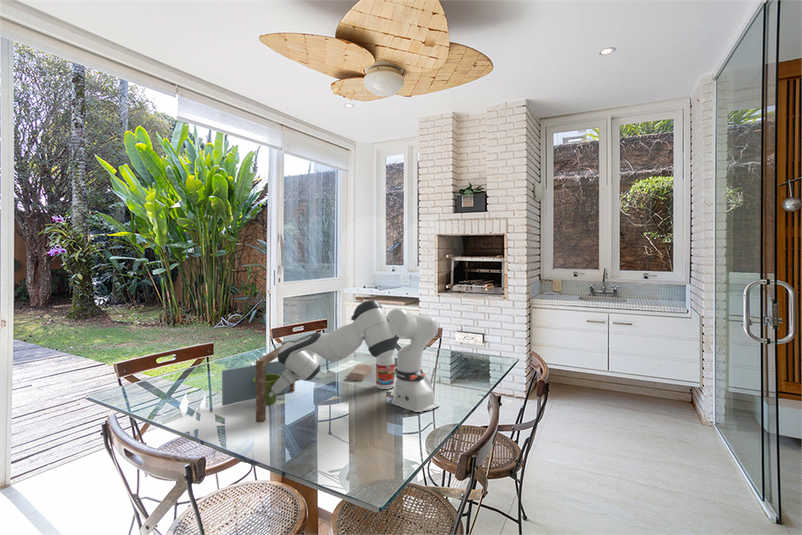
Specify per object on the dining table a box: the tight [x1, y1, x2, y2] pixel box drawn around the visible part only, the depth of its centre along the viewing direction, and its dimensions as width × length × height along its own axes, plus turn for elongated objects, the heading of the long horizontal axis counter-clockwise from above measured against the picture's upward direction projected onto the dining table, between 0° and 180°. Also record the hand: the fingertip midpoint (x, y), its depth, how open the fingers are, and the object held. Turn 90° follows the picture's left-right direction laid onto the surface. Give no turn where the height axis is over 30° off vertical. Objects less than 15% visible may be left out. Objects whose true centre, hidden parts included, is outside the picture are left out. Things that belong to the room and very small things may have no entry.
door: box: [221, 360, 291, 406], centre depth 175 cm, size 3×30×15 cm, turn 130°
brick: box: [348, 364, 372, 382], centre depth 211 cm, size 17×8×5 cm, turn 169°
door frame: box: [255, 340, 296, 423], centre depth 168 cm, size 3×36×24 cm, turn 176°
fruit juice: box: [375, 349, 396, 390], centre depth 193 cm, size 9×9×28 cm
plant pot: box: [253, 374, 281, 406], centre depth 170 cm, size 12×12×11 cm
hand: (274, 391), depth 171 cm, fingers open, 8 cm apart
